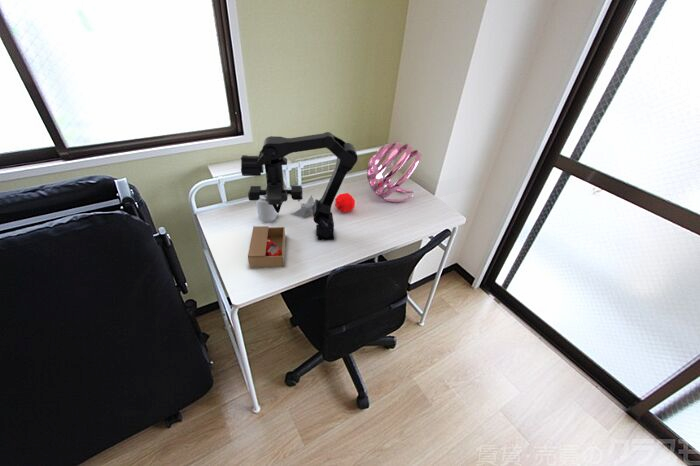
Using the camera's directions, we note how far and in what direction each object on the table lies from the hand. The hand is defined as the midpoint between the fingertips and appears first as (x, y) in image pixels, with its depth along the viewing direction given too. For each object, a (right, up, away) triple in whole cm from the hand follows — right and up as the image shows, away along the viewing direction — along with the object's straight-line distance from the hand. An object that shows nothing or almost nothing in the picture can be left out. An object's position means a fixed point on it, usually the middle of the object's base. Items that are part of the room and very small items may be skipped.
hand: (278, 212), depth 114 cm
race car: (-3, -15, 0) cm, 15 cm away
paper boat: (+7, +2, +22) cm, 24 cm away
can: (-8, -2, +17) cm, 19 cm away
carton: (-4, -15, 0) cm, 15 cm away
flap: (-6, -11, -3) cm, 13 cm away
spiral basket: (+47, +12, +39) cm, 62 cm away
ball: (+25, +3, +25) cm, 35 cm away
